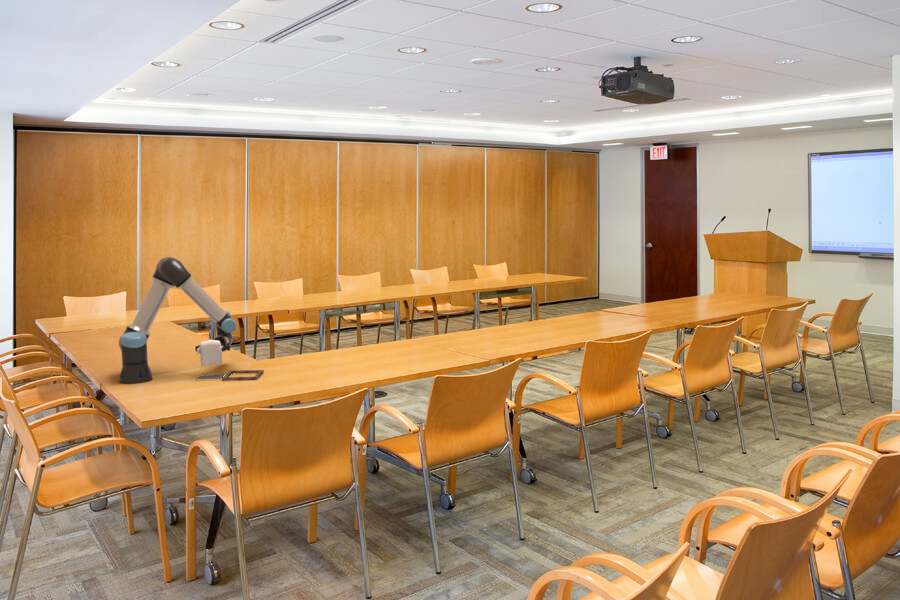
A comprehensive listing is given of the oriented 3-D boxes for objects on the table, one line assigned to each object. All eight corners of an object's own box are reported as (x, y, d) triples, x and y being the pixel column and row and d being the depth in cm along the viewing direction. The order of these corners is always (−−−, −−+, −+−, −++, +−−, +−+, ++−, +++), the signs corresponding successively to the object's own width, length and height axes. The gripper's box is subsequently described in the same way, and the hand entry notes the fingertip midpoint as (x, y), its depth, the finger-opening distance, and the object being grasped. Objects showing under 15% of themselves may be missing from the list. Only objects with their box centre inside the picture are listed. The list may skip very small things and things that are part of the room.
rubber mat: (195, 380, 363) (195, 379, 363) (202, 375, 375) (202, 374, 375) (220, 379, 364) (220, 378, 364) (226, 374, 376) (226, 373, 376)
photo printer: (201, 366, 365) (200, 341, 363) (200, 364, 368) (199, 340, 367) (222, 364, 369) (221, 339, 368) (221, 362, 373) (220, 338, 371)
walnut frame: (222, 380, 361) (221, 377, 361) (230, 373, 378) (230, 370, 377) (257, 380, 362) (256, 377, 362) (263, 372, 379) (263, 369, 378)
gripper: (241, 349, 387) (231, 358, 365) (198, 351, 386) (185, 359, 363) (241, 335, 386) (231, 343, 364) (197, 337, 385) (184, 344, 363)
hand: (208, 351), depth 364 cm, fingers closed on photo printer, 10 cm apart
